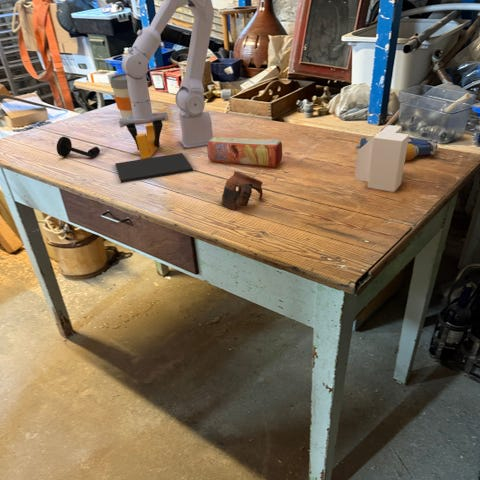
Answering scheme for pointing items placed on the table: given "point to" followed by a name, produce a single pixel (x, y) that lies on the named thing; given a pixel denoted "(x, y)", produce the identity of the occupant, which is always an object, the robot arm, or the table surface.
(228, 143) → the snack package
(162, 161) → the mat
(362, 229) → the table surface
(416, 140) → the spray gun
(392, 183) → the corner bracket
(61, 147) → the light fixture
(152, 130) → the pipe clamp
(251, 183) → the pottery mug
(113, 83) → the reusable coffee cup
